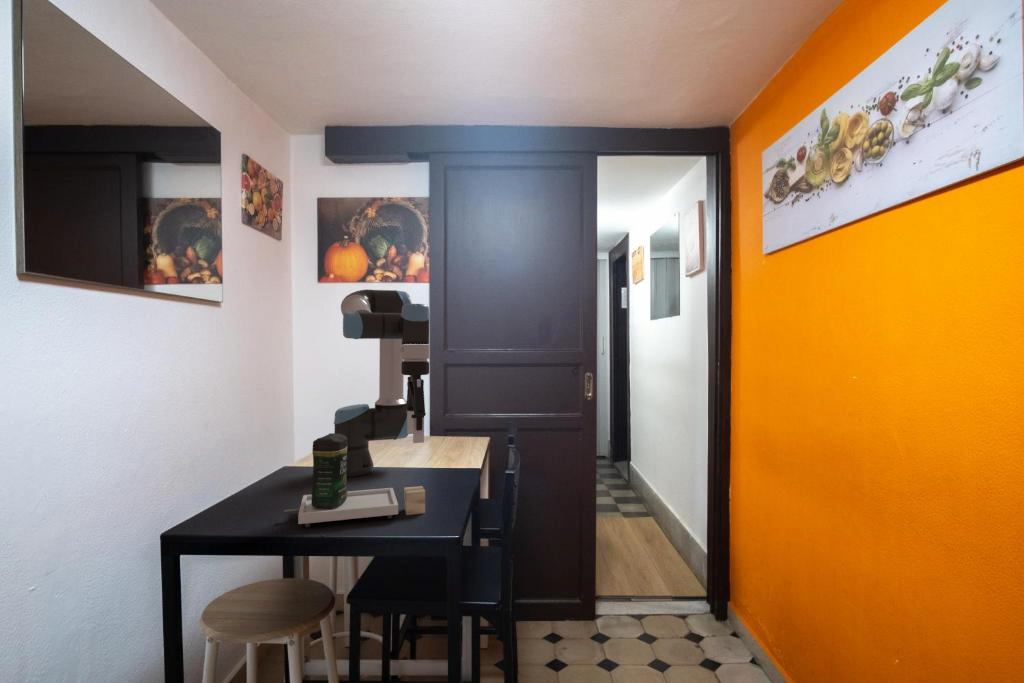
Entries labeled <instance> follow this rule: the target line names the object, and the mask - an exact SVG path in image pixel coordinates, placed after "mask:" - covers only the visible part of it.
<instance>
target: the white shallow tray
mask: <svg viewBox="0 0 1024 683" xmlns="http://www.w3.org/2000/svg"><path fill="white" fill-rule="evenodd" d="M295 514H297V517H298V519H297V520H298V521H297V522H298V523H297V524H298V525H303V524H304V526H305V528H310V527H311V524H314V523H315V524H316V523H324V522H332V521H333V522H334V521H344V520H345V521H346V520H352V519H364V518H373V517H383V516H384V517H385V516H387V520H389V519H393V515H399V503H398V500H397V497H396V494H395V490H394V487H385V488H376V489H375V488H374V489H373V488H372V489H362V490H350V491H348V490H347V499H346V501H345V502H344V503H342V504H341V505H339V506H338V507H335V508H327V509H319V508H316V507H313V506H312V494H303V495H302V499H301V504H300V507H299V508H294V509H284V510H283V515H284V516H285V515H295Z"/></svg>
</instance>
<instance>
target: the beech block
mask: <svg viewBox="0 0 1024 683" xmlns="http://www.w3.org/2000/svg"><path fill="white" fill-rule="evenodd" d="M403 494H404V496H403V497H404V500H403V501H404V507H403V508H404V511H405V515H406V516H411V515H420V514H425V513H426V489H425V488H424V486H423V485H422V486H421V485H420V486H409V487H408V486H407V487H406V486H405V487H404V493H403Z"/></svg>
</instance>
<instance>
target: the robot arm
mask: <svg viewBox="0 0 1024 683" xmlns="http://www.w3.org/2000/svg"><path fill="white" fill-rule="evenodd" d="M341 301H342V302H341V304H340V311H341V314H342V316H343V317H342V335H343V337H344V338H345V339H354V340H363V339H364V340H368V339H369V340H375V339H376V340H379V372H378V373H379V381H378V382H379V383H378V384H379V385H378V386H379V391H378V392H379V394H378V399H377V400H375V402H374V407H370V405H369V404H367V403H362V404H360V403H359V404H352V405H346V406H343V407H340V408H338V409H337V410H336V411H335V412H334V421H333V425H334V432H333V433H336V434H344V435H345V436H346V437H347V457H346V478H352V477H359V476H360V477H361V476H365V475H368V474H370V473H373V471H374V468H375V467H374V460H373V458H372V456H371V453H370V449H369V446H370V445H369V442H372V441H373V442H375V441H384V440H385V441H386V440H387V441H389V440H393V441H395V440H399V439H405V438H407V437H408V436H409V435H412V436H413V437H412V438H413V439H412V443H413V444H420V443H425V417H426V414H427V413H426V406H425V405H426V403H425V389H424V387H425V386H424V384H425V383H424V382H425V381H424V379H422V376H428V375H429V374H430V361H428V360H429V359H430V349H431V348H430V347H431V346H430V319H431V315H430V306H429V305H427V304H425V303H412V299H411V296H410V294H409V292H406V291H403V290H396V289H395V290H394V289H393V290H389V289H387V290H385V289H384V290H383V289H360V290H356V291H354V292H351V293H350V294H348V295H346V296H345V297H344V298H343V299H342V300H341ZM404 376H407V382H406V383H407V384H406V386H407V388H406V390H407V391H406V394H407V395H406V399H405V397H404V379H405V378H404Z"/></svg>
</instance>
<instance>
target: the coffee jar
mask: <svg viewBox="0 0 1024 683" xmlns="http://www.w3.org/2000/svg"><path fill="white" fill-rule="evenodd" d="M311 451H312V461H313V462H312V464H313V465H312V486H311V495H312V506H313V507H316V508H319V509H327V508H335V507H338V506H339V505H341V504H342V503H344V502H345V501H346V499H347V492H348V490H347V488H348V486H347V485H348V484H347V483H348V482H347V477H346V457H347V437H346V436H345V435H344V434H336V433H334V432H332V433H331V432H330V433H328V434H326V435H324V436H322V437H318V438H317V439H314V440H313V442H312V450H311Z"/></svg>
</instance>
